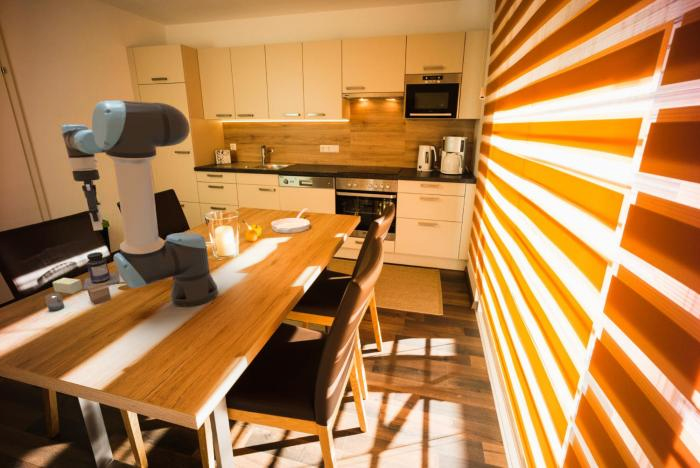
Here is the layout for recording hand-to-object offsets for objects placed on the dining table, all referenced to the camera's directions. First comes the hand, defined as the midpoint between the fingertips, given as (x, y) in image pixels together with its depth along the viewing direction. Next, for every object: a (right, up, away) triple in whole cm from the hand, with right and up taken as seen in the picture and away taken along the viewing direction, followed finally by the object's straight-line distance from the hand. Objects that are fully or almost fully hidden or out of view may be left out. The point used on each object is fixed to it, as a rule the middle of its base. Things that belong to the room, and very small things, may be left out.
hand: (98, 226), depth 127 cm
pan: (+61, +3, +83) cm, 103 cm away
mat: (-2, -22, +4) cm, 22 cm away
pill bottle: (-2, -21, +4) cm, 22 cm away
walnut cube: (+8, -26, -10) cm, 29 cm away
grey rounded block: (-2, -28, -15) cm, 32 cm away
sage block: (-9, -24, -2) cm, 26 cm away
